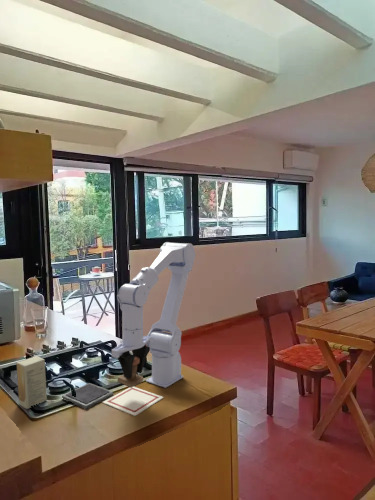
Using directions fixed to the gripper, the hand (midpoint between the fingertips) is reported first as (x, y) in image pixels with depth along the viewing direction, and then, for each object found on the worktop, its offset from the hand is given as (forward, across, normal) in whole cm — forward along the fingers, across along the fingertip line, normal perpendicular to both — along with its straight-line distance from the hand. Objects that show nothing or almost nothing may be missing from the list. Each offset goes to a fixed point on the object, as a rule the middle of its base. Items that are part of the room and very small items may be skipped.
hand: (133, 374), depth 109 cm
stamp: (+2, 0, -1) cm, 3 cm away
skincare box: (+8, +17, -22) cm, 29 cm away
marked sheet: (+8, 0, 0) cm, 8 cm away
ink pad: (+8, +6, -12) cm, 15 cm away
